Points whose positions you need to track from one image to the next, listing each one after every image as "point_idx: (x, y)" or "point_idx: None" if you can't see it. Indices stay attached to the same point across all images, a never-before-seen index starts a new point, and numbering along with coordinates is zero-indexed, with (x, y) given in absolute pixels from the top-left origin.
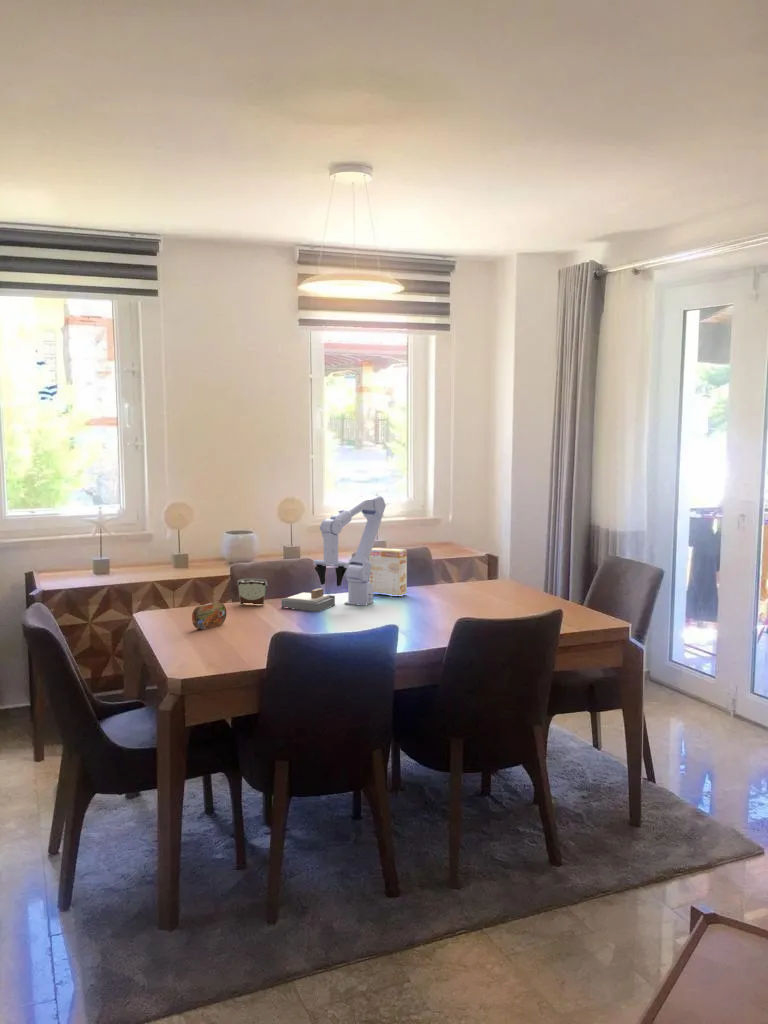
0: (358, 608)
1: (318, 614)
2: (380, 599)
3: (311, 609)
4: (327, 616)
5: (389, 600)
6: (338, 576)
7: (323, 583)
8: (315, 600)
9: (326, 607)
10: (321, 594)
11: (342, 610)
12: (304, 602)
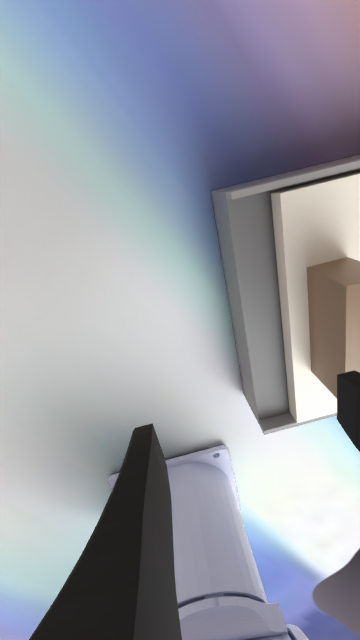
0: (89, 420)
1: (140, 112)
2: None
3: (263, 179)
4: (27, 91)
5: None
6: (104, 543)
7: (343, 402)
8: (279, 228)
9: (231, 312)
10: (319, 357)
11: (114, 330)
12: (349, 161)
